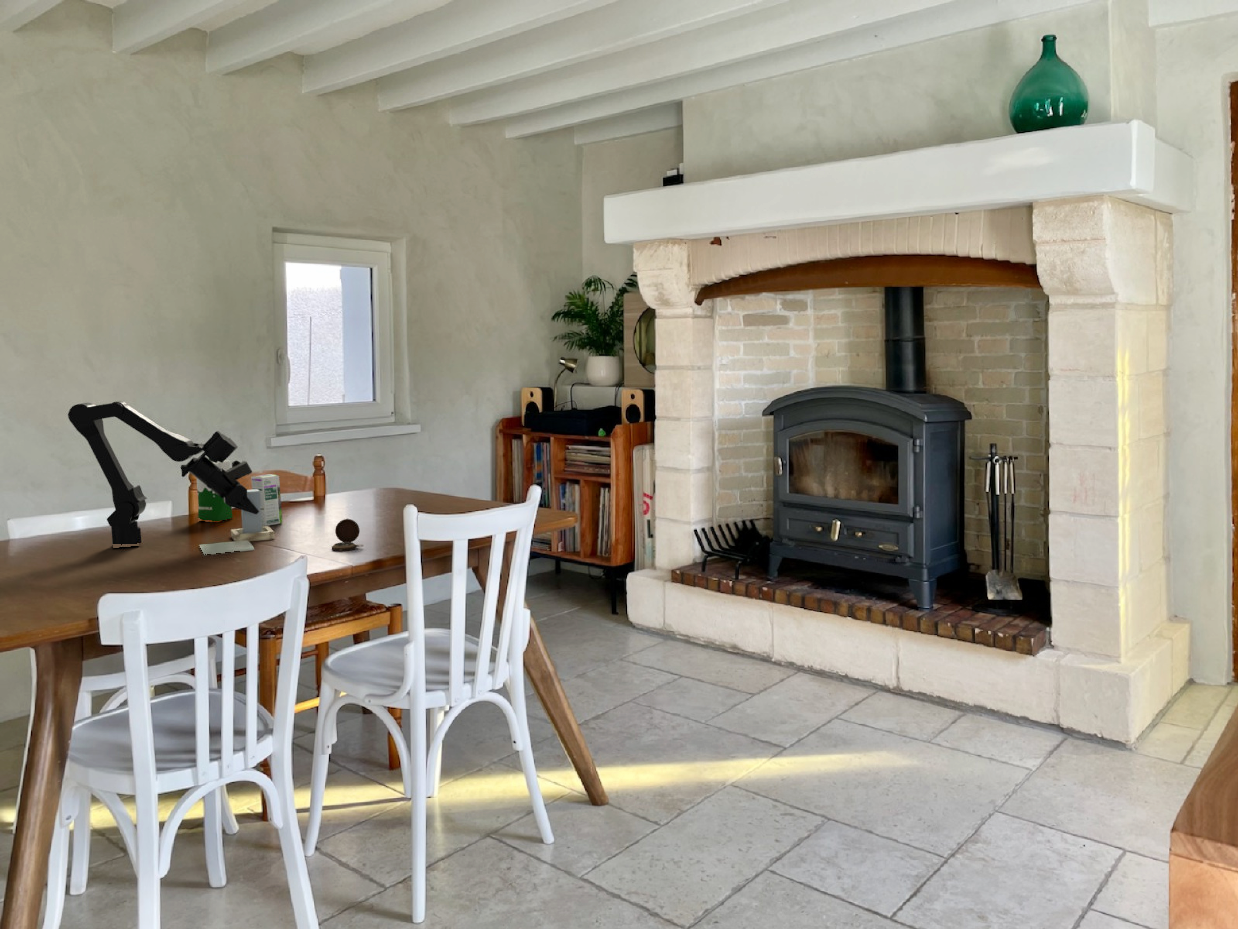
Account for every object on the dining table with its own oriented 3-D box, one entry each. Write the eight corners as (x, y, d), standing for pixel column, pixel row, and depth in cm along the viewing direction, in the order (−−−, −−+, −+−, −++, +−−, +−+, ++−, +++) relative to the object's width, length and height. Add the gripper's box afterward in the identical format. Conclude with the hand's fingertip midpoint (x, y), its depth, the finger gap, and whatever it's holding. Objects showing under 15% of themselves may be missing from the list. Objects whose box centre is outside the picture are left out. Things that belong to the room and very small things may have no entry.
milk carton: (237, 518, 306) (233, 453, 303) (217, 523, 297) (213, 456, 295) (213, 517, 308) (208, 452, 306) (192, 522, 300) (188, 456, 297)
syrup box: (265, 526, 290) (262, 477, 289) (253, 524, 294) (250, 475, 292) (282, 523, 295) (279, 474, 293) (270, 521, 298) (268, 473, 297)
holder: (235, 542, 267) (235, 535, 267) (231, 536, 276) (230, 529, 275) (274, 538, 271) (274, 531, 271) (268, 533, 280) (268, 526, 280)
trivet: (203, 555, 251) (203, 552, 251) (199, 547, 262) (199, 544, 262) (254, 550, 257) (254, 547, 257) (247, 542, 267) (247, 540, 267)
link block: (245, 540, 271) (242, 492, 269) (242, 537, 275) (239, 490, 273) (262, 538, 273) (259, 491, 271) (260, 535, 277) (257, 489, 275)
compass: (328, 552, 253) (327, 523, 252) (337, 546, 261) (335, 518, 260) (360, 551, 253) (359, 523, 252) (368, 545, 261) (366, 517, 260)
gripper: (236, 455, 261) (282, 493, 267) (227, 449, 277) (271, 485, 283) (205, 487, 258) (253, 525, 264) (199, 479, 274) (244, 515, 281)
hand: (256, 511), depth 273 cm, fingers closed on link block, 4 cm apart
